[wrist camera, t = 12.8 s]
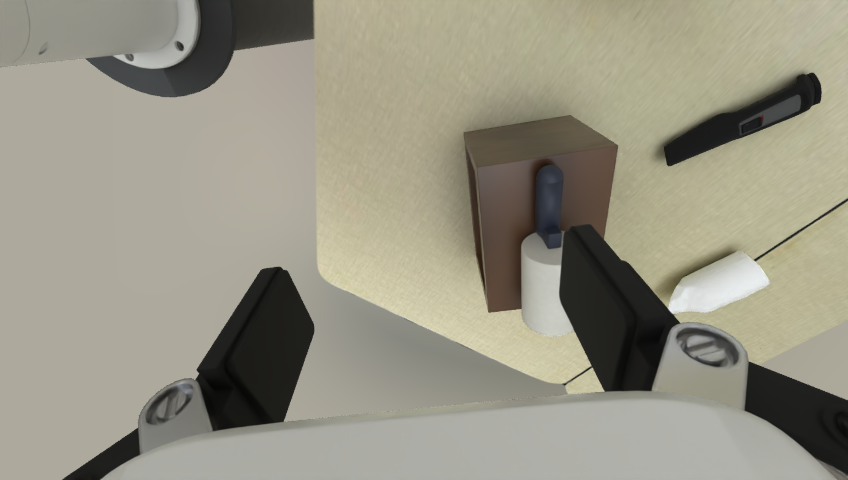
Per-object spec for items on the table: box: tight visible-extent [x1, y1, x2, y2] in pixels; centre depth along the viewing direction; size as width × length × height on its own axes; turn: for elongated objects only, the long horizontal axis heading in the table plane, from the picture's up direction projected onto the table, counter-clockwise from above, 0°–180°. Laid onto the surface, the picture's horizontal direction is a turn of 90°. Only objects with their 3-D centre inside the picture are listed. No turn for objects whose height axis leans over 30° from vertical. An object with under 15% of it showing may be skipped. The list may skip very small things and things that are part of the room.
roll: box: [668, 251, 769, 314], centre depth 48 cm, size 6×12×6 cm, turn 129°
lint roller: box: [521, 165, 574, 337], centre depth 31 cm, size 16×6×6 cm, turn 9°
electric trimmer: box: [664, 73, 822, 166], centre depth 37 cm, size 4×16×3 cm, turn 119°
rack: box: [464, 115, 618, 313], centre depth 38 cm, size 12×18×11 cm, turn 9°
